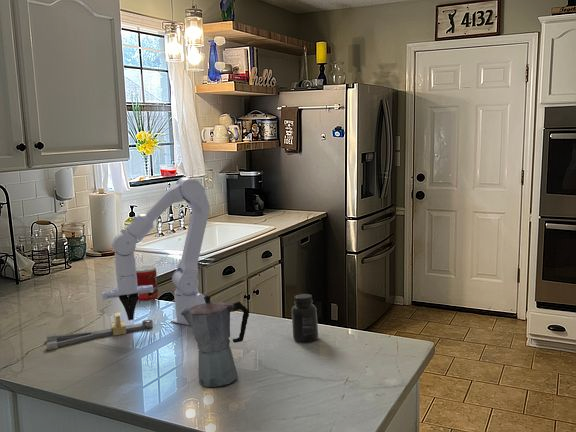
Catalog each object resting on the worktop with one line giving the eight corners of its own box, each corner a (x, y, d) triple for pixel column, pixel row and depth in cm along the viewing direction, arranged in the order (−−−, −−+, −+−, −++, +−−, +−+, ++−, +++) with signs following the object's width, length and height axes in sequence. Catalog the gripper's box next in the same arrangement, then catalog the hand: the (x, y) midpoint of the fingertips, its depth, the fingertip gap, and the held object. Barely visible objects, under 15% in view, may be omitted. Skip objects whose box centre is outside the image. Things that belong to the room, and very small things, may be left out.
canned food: (153, 301, 201) (150, 270, 199) (132, 301, 202) (129, 270, 201) (162, 295, 208) (159, 265, 207) (141, 295, 210) (139, 265, 208)
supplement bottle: (321, 335, 157) (319, 293, 155) (314, 344, 150) (312, 300, 149) (297, 333, 159) (295, 292, 157) (289, 342, 153) (287, 299, 151)
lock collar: (123, 328, 172) (122, 311, 171) (126, 333, 167) (124, 316, 166) (111, 330, 170) (109, 313, 170) (113, 335, 165) (111, 318, 165)
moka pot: (188, 374, 135) (181, 292, 133) (252, 368, 136) (247, 287, 134) (184, 391, 126) (176, 304, 123) (253, 385, 127) (248, 298, 124)
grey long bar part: (150, 322, 177) (149, 316, 176) (155, 330, 168) (155, 324, 168) (47, 340, 165) (46, 333, 165) (47, 350, 157) (46, 343, 157)
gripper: (148, 268, 174) (152, 311, 176) (99, 275, 169) (103, 319, 170) (153, 273, 168) (157, 317, 170) (101, 280, 162) (106, 326, 164)
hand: (130, 319), depth 170 cm, fingers closed
